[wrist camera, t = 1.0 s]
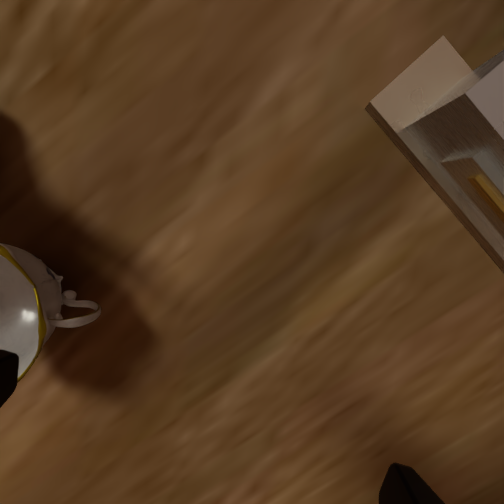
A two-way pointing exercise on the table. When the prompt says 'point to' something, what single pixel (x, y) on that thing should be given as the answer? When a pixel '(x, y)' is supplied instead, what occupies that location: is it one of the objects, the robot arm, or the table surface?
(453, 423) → the table surface
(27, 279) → the chinaware
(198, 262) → the table surface
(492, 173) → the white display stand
